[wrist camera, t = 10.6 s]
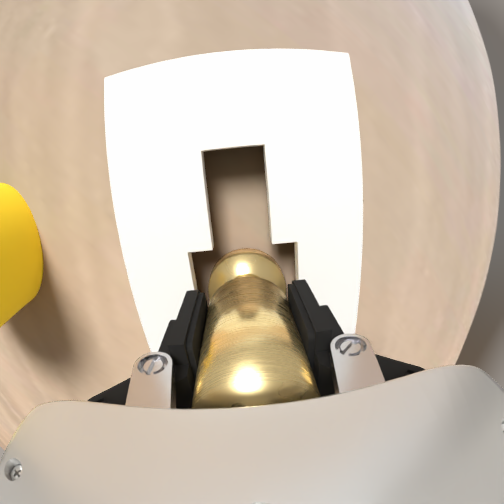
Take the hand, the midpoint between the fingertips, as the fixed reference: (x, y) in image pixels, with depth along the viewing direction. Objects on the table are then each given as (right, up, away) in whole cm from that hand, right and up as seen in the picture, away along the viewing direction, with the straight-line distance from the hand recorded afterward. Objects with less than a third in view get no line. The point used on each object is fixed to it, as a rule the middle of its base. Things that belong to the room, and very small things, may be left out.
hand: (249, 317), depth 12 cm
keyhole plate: (0, +4, +3) cm, 5 cm away
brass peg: (0, +1, +3) cm, 3 cm away
